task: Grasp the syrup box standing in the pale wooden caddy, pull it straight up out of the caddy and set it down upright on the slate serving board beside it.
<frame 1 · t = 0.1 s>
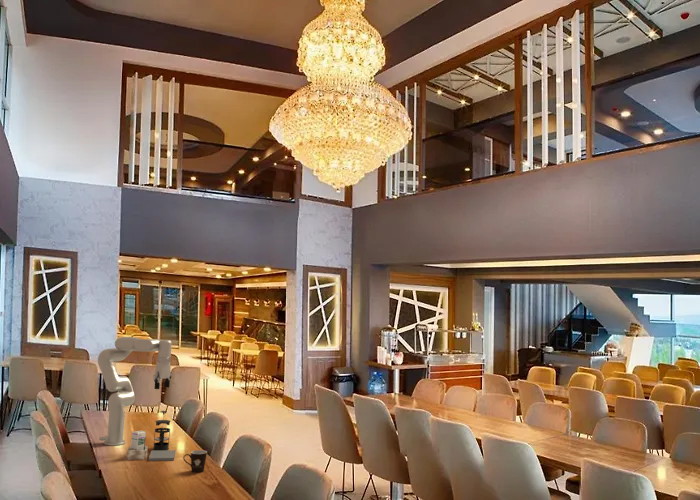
hand: (161, 388, 357), 37 cm above the table, tool pointing down, fingers open, 9 cm apart
caddy: (137, 457, 335), on the table
syrup box: (137, 457, 335), resting in caddy
coffee mug: (195, 471, 313), on the table
french press: (160, 449, 356), on the table
slate board: (162, 456, 339), on the table
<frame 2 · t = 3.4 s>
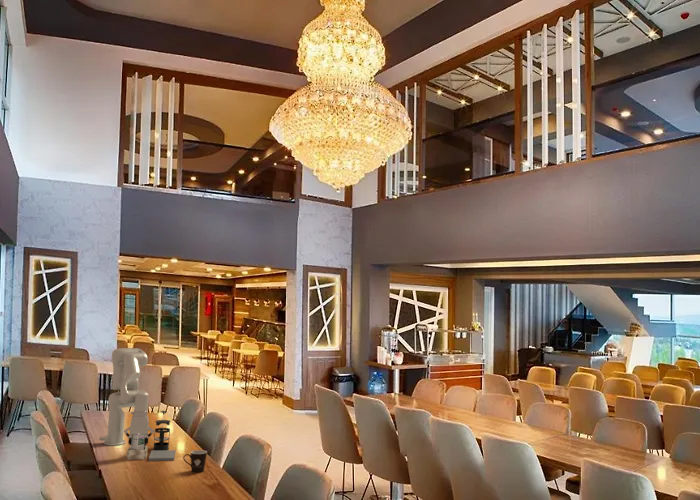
hand: (138, 444, 336), 7 cm above the table, tool pointing down, fingers closed on syrup box, 8 cm apart
syrup box: (137, 457, 335), resting in caddy, touching gripper
everything else where it was.
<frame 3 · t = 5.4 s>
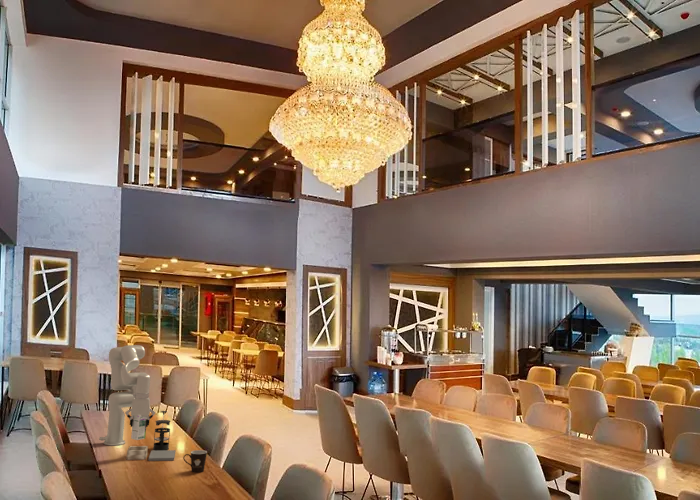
hand: (139, 426, 338), 17 cm above the table, tool pointing down, fingers closed on syrup box, 8 cm apart
syrup box: (138, 439, 337), point 10 cm above the table, touching gripper
everything else where it was.
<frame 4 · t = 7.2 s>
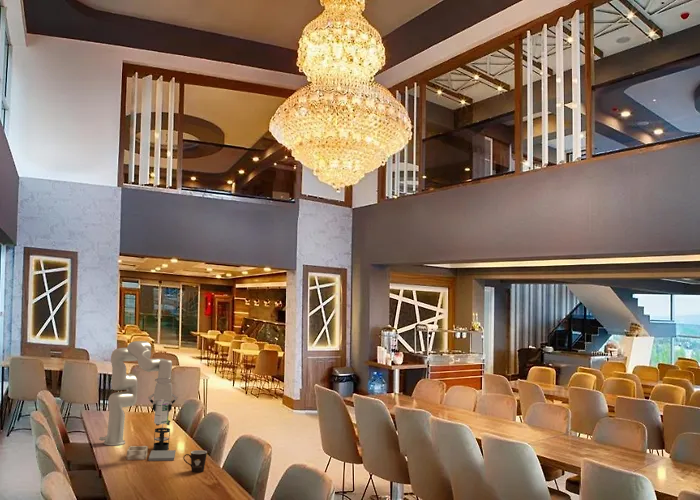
hand: (161, 411, 341), 26 cm above the table, tool pointing down, fingers closed on syrup box, 8 cm apart
syrup box: (160, 423, 340), point 19 cm above the table, touching gripper
everything else where it was.
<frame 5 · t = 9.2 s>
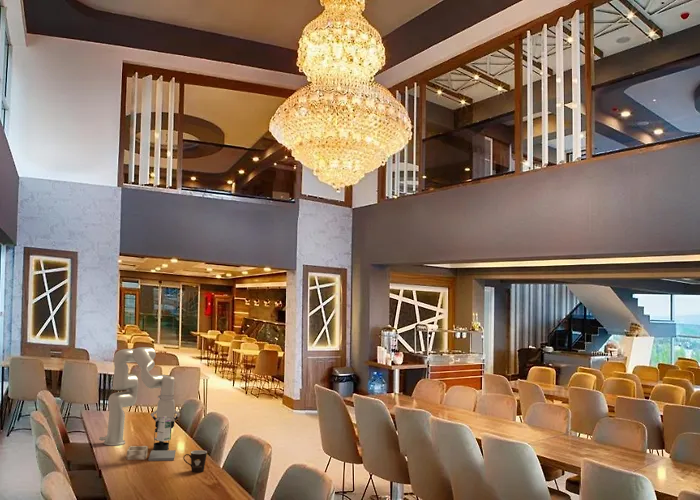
hand: (164, 427, 340), 17 cm above the table, tool pointing down, fingers closed on syrup box, 8 cm apart
syrup box: (163, 440, 339), point 9 cm above the table, touching gripper
everything else where it was.
when the fingers open (10 cm above the table, at t = 11.1 s): syrup box drops 1 cm, resting on slate board.
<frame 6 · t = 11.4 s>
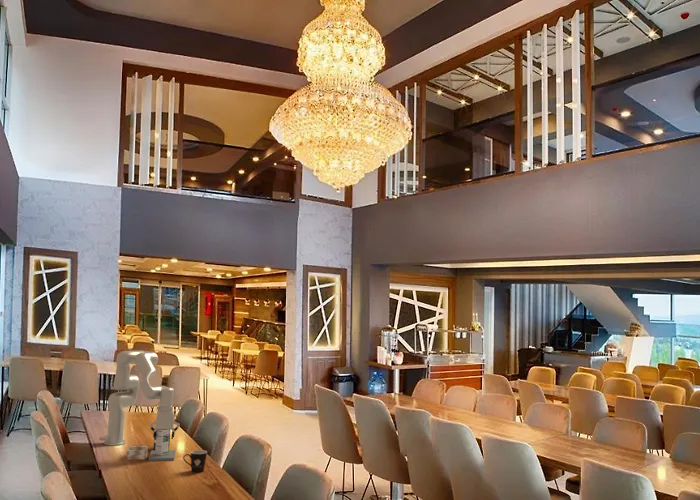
hand: (163, 438, 340), 10 cm above the table, tool pointing down, fingers open, 9 cm apart
syrup box: (161, 454, 339), point 1 cm above the table, touching slate board
everything else where it was.
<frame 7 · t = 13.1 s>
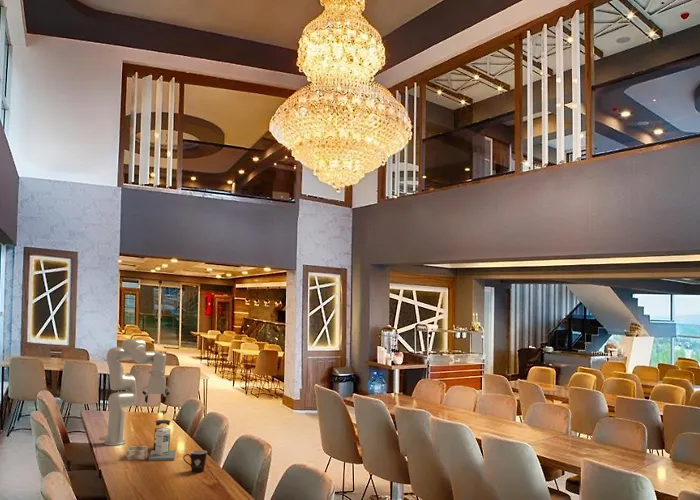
hand: (155, 402, 345), 30 cm above the table, tool pointing down, fingers open, 9 cm apart
nothing on the table moved.
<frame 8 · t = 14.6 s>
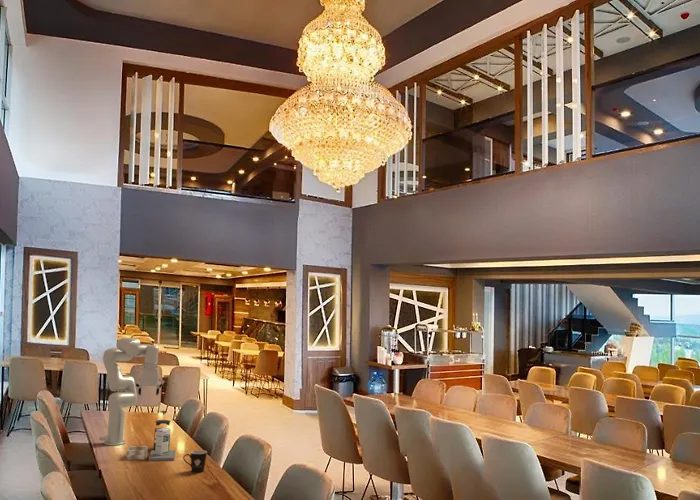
hand: (148, 395, 346), 34 cm above the table, tool pointing down, fingers open, 9 cm apart
nothing on the table moved.
at the end: syrup box inside the target area on the slate board (0.4 cm from its centre), point 1.3 cm above the slate board's base; syrup box tilted 0°; the gripper is holding nothing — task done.
